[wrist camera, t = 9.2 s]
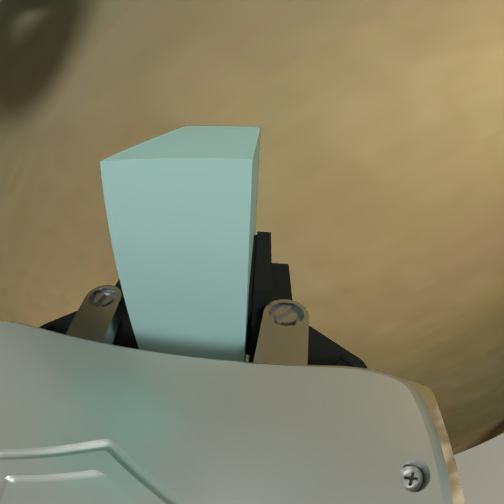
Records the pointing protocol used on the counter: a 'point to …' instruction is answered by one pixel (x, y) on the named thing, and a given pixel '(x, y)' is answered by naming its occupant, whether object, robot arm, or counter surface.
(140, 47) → the counter surface
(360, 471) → the robot arm
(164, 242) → the block
